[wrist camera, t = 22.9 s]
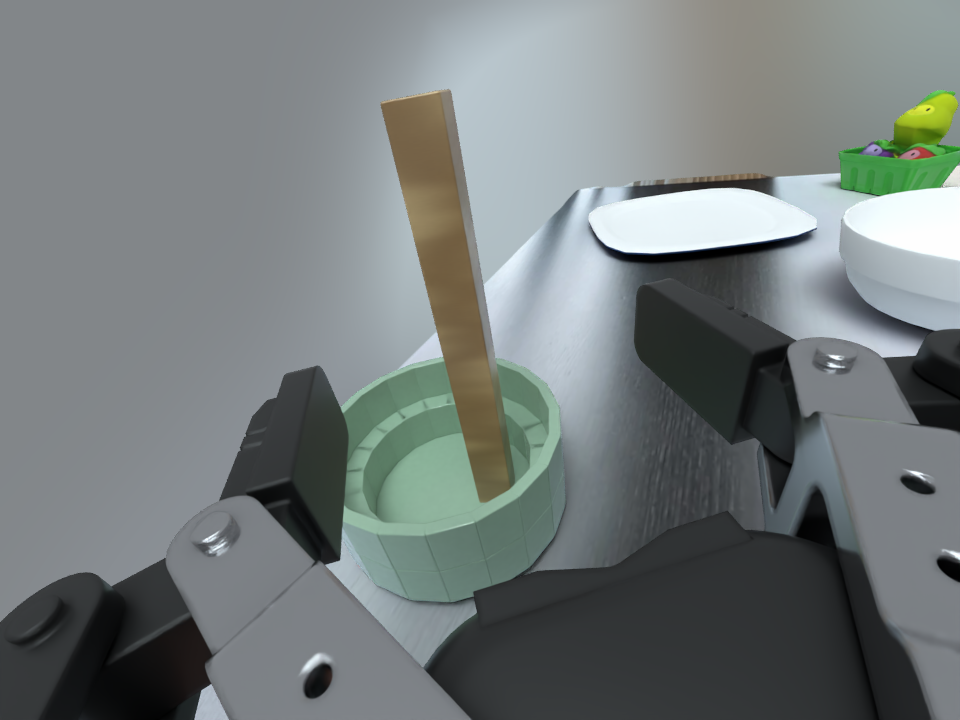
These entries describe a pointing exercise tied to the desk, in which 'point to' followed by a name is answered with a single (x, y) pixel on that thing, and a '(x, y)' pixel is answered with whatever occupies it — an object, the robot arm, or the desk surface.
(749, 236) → the plate
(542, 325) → the desk surface
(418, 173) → the stirring stick
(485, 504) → the mixing bowl
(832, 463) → the robot arm
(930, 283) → the bowl
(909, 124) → the fruit basket
